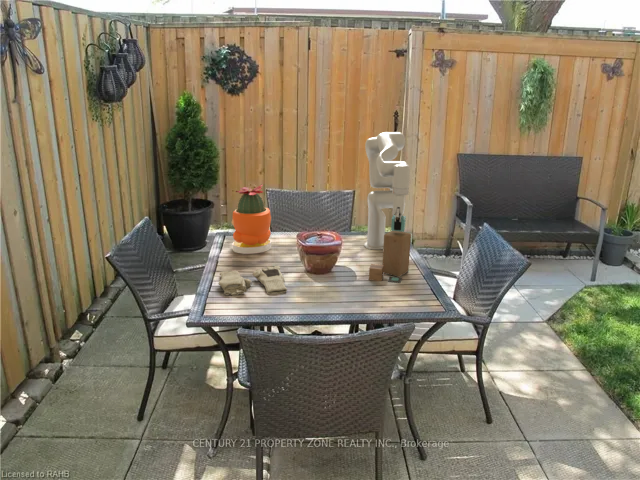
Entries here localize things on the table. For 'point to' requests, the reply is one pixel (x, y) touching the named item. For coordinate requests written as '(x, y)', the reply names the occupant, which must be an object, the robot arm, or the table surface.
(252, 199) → the potted cactus
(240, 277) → the pair of gloves
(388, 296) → the table surface
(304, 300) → the table surface
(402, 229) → the teal cube
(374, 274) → the walnut cube
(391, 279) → the card
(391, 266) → the wooden block
